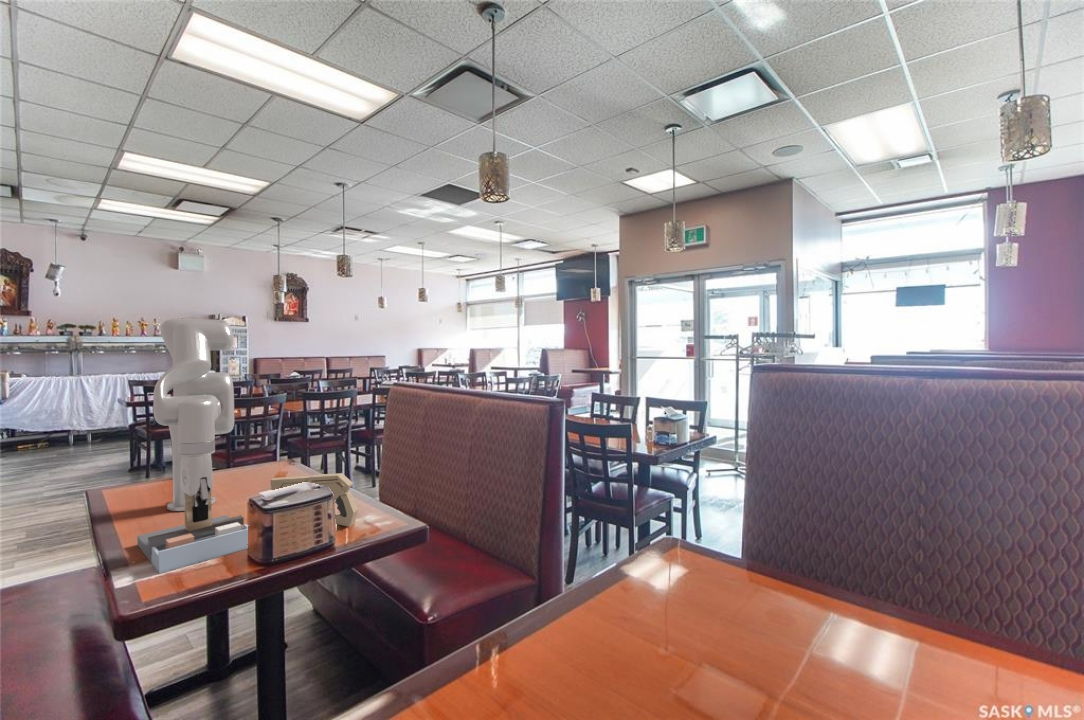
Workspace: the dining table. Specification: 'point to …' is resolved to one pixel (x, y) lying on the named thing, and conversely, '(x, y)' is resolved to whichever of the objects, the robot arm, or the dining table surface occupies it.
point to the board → (143, 538)
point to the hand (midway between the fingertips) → (198, 518)
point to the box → (199, 551)
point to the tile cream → (227, 529)
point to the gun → (338, 487)
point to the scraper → (192, 527)
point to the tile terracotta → (179, 541)
